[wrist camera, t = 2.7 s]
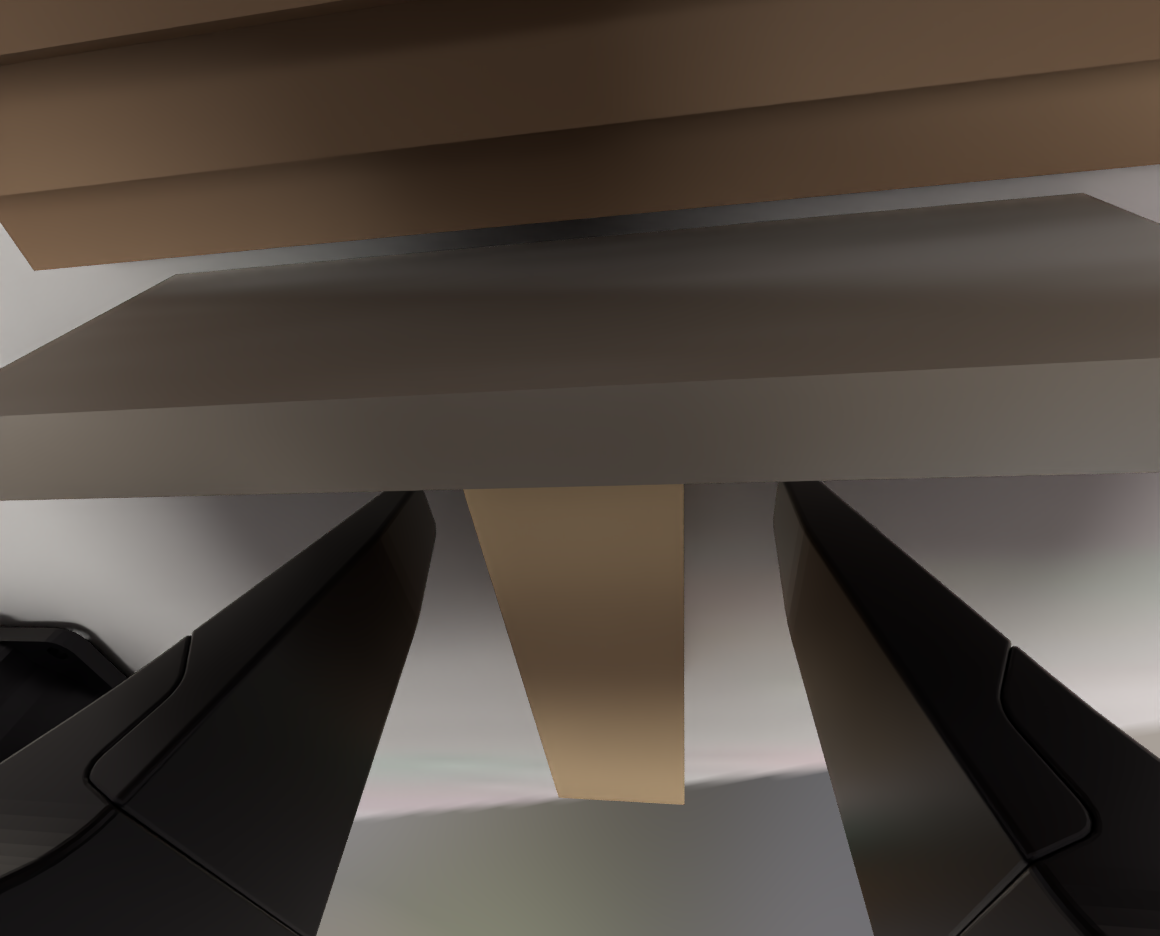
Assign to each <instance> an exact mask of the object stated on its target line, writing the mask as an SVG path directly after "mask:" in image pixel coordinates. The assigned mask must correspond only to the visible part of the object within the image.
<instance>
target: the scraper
mask: <svg viewBox="0 0 1160 936" xmlns="http://www.w3.org/2000/svg"><path fill="white" fill-rule="evenodd" d="M1157 472H1160V224H1159V223H1156V222H1154V221H1151V220H1149V219H1146V218H1144V217H1141V216H1139V215H1137V214H1134V213H1132V212H1129V211H1127V210H1124V209H1122V208H1119V207H1117V206H1114V205H1112V204H1109V203H1107V202H1104V201H1102V200H1099V199H1097V198H1094V197H1092V196H1089V195H1087V194H1084V193H1077V194H1066V195H1055V196H1044V197H1033V198H1022V199H1011V200H999V201H988V202H977V203H966V204H955V205H944V206H933V207H921V208H910V209H899V210H888V211H877V212H866V213H855V214H844V215H832V216H821V217H810V218H799V219H788V220H777V221H766V222H754V223H743V224H732V225H721V226H710V227H699V228H688V229H677V230H665V231H654V232H643V233H632V234H621V235H610V236H599V237H587V238H576V239H565V240H554V241H543V242H532V243H521V244H510V245H498V246H487V247H476V248H465V249H454V250H443V251H432V252H420V253H409V254H398V255H387V256H376V257H365V258H354V259H342V260H331V261H320V262H309V263H298V264H287V265H276V266H265V267H253V268H242V269H231V270H220V271H209V272H198V273H187V274H176V275H174V276H172V277H170V278H168V279H166V280H164V281H163V282H161V283H159V284H157V285H155V286H153V287H151V288H150V289H148V290H146V291H144V292H142V293H140V294H138V295H137V296H135V297H133V298H131V299H129V300H127V301H125V302H124V303H122V304H120V305H118V306H116V307H114V308H112V309H111V310H109V311H107V312H105V313H103V314H101V315H99V316H98V317H96V318H94V319H92V320H90V321H88V322H86V323H85V324H83V325H81V326H79V327H77V328H75V329H73V330H71V331H70V332H68V333H66V334H64V335H62V336H60V337H58V338H57V339H55V340H53V341H51V342H49V343H47V344H45V345H44V346H42V347H40V348H38V349H36V350H34V351H32V352H31V353H29V354H27V355H25V356H23V357H21V358H19V359H18V360H16V361H14V362H12V363H10V364H8V365H6V366H5V367H3V368H1V369H0V501H6V500H47V499H88V498H129V497H170V496H211V495H253V494H294V493H335V492H376V491H417V490H458V489H463V491H464V495H465V498H466V501H467V504H468V507H469V511H470V514H471V517H472V520H473V523H474V527H475V530H476V533H477V536H478V540H479V543H480V546H481V549H482V552H483V556H484V559H485V562H486V565H487V568H488V572H489V575H490V578H491V581H492V584H493V588H494V591H495V594H496V597H497V601H498V604H499V607H500V610H501V613H502V617H503V620H504V623H505V626H506V629H507V633H508V636H509V639H510V642H511V645H512V649H513V652H514V655H515V658H516V662H517V665H518V668H519V671H520V674H521V678H522V681H523V684H524V687H525V690H526V694H527V697H528V700H529V703H530V707H531V710H532V713H533V716H534V719H535V723H536V726H537V729H538V732H539V735H540V739H541V742H542V745H543V748H544V751H545V755H546V758H547V761H548V764H549V768H550V771H551V774H552V777H553V780H554V784H555V787H556V790H557V793H558V796H559V798H575V799H593V800H611V801H628V802H646V803H666V804H681V805H682V804H683V805H684V484H705V483H746V482H787V481H828V480H869V479H911V478H952V477H993V476H1034V475H1075V474H1116V473H1157Z"/></svg>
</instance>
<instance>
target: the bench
mask: <svg viewBox="0 0 1160 936" xmlns="http://www.w3.org/2000/svg"><path fill="white" fill-rule="evenodd" d="M1155 164H1160V0H0V222H1V224H2V225H3V227H4V228H5V230H6V231H7V232H8V234H9V235H10V237H11V238H12V240H13V241H14V243H15V244H16V245H17V247H18V248H19V250H20V251H21V253H22V254H23V255H24V257H25V258H26V260H27V261H28V263H29V264H30V265H31V267H32V268H33V270H34V271H36V270H47V269H57V268H68V267H78V266H89V265H99V264H110V263H120V262H131V261H142V260H152V259H163V258H173V257H184V256H194V255H205V254H215V253H226V252H237V251H247V250H258V249H268V248H279V247H289V246H300V245H311V244H321V243H332V242H342V241H353V240H363V239H374V238H384V237H395V236H406V235H416V234H427V233H437V232H448V231H458V230H469V229H480V228H490V227H501V226H511V225H522V224H532V223H543V222H553V221H564V220H575V219H585V218H596V217H606V216H617V215H627V214H638V213H648V212H659V211H670V210H680V209H691V208H701V207H712V206H722V205H733V204H744V203H754V202H765V201H775V200H786V199H796V198H807V197H817V196H828V195H839V194H849V193H860V192H870V191H881V190H891V189H902V188H913V187H923V186H934V185H944V184H955V183H965V182H976V181H986V180H997V179H1008V178H1018V177H1029V176H1039V175H1050V174H1060V173H1071V172H1081V171H1092V170H1103V169H1113V168H1124V167H1134V166H1145V165H1155Z"/></svg>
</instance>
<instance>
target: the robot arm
mask: <svg viewBox="0 0 1160 936" xmlns="http://www.w3.org/2000/svg"><path fill="white" fill-rule="evenodd" d="M773 527H774V536H775V543H776V550H777V557H778V564H779V570H780V577H781V584H782V591H783V598H784V605H785V611H786V617H787V623H788V627H789V631H790V635H791V640H792V643H793V647H794V650H795V654H796V658H797V661H798V665H799V668H800V672H801V675H802V679H803V683H804V686H805V690H806V693H807V697H808V701H809V704H810V708H811V711H812V715H813V719H814V722H815V726H816V729H817V733H818V736H819V740H820V744H821V747H822V751H823V754H824V758H825V762H826V765H827V769H828V772H829V776H830V780H831V783H832V787H833V790H834V794H835V797H836V801H837V805H838V808H839V812H840V815H841V819H842V822H843V826H844V830H845V833H846V837H847V840H848V844H849V848H850V851H851V855H852V858H853V862H854V866H855V869H856V873H857V876H858V880H859V884H860V887H861V891H862V894H863V898H864V901H865V905H866V909H867V912H868V916H869V919H870V923H871V927H872V930H873V934H874V936H1160V758H1158V757H1157V756H1156V755H1154V754H1153V753H1151V752H1150V751H1149V750H1148V749H1146V748H1145V747H1144V746H1142V745H1141V744H1139V743H1138V742H1137V741H1135V740H1134V739H1133V738H1132V737H1130V736H1129V735H1128V734H1126V733H1125V732H1124V731H1122V730H1121V729H1120V728H1118V727H1117V726H1116V725H1114V724H1113V723H1112V722H1110V721H1109V720H1108V719H1106V718H1105V717H1104V716H1102V715H1101V714H1100V713H1098V712H1097V711H1096V710H1094V709H1093V708H1092V707H1091V706H1090V705H1088V704H1087V703H1086V702H1085V701H1083V700H1082V699H1081V698H1080V697H1078V696H1077V695H1076V694H1075V693H1073V692H1072V691H1071V690H1070V689H1068V688H1067V687H1066V686H1065V685H1063V684H1062V683H1061V682H1060V681H1058V680H1057V679H1056V678H1055V677H1054V676H1052V675H1051V674H1050V673H1049V672H1047V671H1046V670H1045V669H1044V668H1043V667H1041V666H1040V665H1039V664H1038V663H1037V662H1035V661H1034V660H1033V659H1032V658H1031V657H1029V656H1028V655H1027V654H1026V653H1025V652H1023V651H1022V650H1021V649H1020V648H1019V647H1017V646H1013V647H1011V641H1010V640H1009V639H1008V638H1006V637H1005V636H1004V635H1003V634H1002V633H1000V632H999V631H998V630H997V629H996V628H995V627H993V626H992V625H991V624H990V623H989V622H987V621H986V620H985V619H984V618H983V617H981V616H980V615H979V614H978V613H977V612H975V611H974V610H973V609H972V608H971V607H970V606H968V605H967V604H966V603H965V602H964V601H962V600H961V599H960V598H959V597H958V596H956V595H955V594H954V593H953V592H952V591H950V590H949V589H948V588H947V587H946V586H945V585H943V584H942V583H941V582H940V581H939V580H937V579H936V578H935V577H934V576H933V575H931V574H930V573H929V572H928V571H927V570H925V569H924V568H923V567H922V566H921V565H919V564H918V563H917V562H916V561H915V560H914V559H912V558H911V557H910V556H909V555H908V554H906V553H905V552H904V551H903V550H902V549H900V548H899V547H898V546H897V545H896V544H894V543H893V542H892V541H891V540H890V539H889V538H887V537H886V536H885V535H884V534H883V533H881V532H880V531H879V530H878V529H877V528H875V527H874V526H873V525H872V524H871V523H869V522H868V521H867V520H866V519H865V518H864V517H862V516H861V515H860V514H859V513H858V512H856V511H855V510H854V509H853V508H852V507H850V506H849V505H848V504H847V503H846V502H844V501H843V500H842V499H841V498H840V497H839V496H837V495H836V494H835V493H834V492H833V491H831V490H830V489H829V488H828V487H827V486H825V485H824V484H823V483H822V482H821V481H787V482H778V485H777V493H776V500H775V508H774V517H773ZM435 537H436V525H435V521H434V518H433V515H432V512H431V509H430V507H429V504H428V501H427V499H426V496H425V493H424V491H423V490H417V491H384V492H383V493H381V494H380V495H378V496H377V497H376V498H374V499H373V500H372V501H370V502H369V503H368V504H366V505H365V506H363V507H362V508H361V509H359V510H358V511H357V512H355V513H354V514H353V515H351V516H350V517H348V518H347V519H346V520H344V521H343V522H342V523H340V524H339V525H338V526H336V527H335V528H333V529H332V530H331V531H329V532H328V533H327V534H325V535H324V536H323V537H321V538H320V539H318V540H317V541H316V542H314V543H313V544H312V545H310V546H309V547H308V548H306V549H305V550H303V551H302V552H301V553H299V554H298V555H297V556H295V557H294V558H293V559H291V560H290V561H288V562H287V563H286V564H284V565H283V566H282V567H280V568H279V569H278V570H276V571H275V572H273V573H272V574H271V575H269V576H268V577H267V578H265V579H264V580H262V581H261V582H260V583H258V584H257V585H256V586H254V587H253V588H252V589H250V590H249V591H247V592H246V593H245V594H243V595H242V596H241V597H239V598H238V599H237V600H235V601H234V602H232V603H231V604H230V605H228V606H227V607H226V608H224V609H223V610H222V611H220V612H219V613H217V614H216V615H215V616H213V617H212V618H211V619H209V620H208V621H207V622H205V623H204V624H202V625H201V626H200V627H198V628H197V629H196V630H194V631H193V632H192V636H186V637H184V638H183V639H182V640H180V641H179V642H178V643H176V644H175V645H174V646H172V647H171V648H170V649H168V650H167V651H166V652H164V653H163V654H161V655H160V656H159V657H157V658H156V659H154V660H153V661H152V662H150V663H149V664H147V665H146V666H145V667H143V668H142V669H140V670H139V671H138V672H136V673H135V674H133V675H132V676H130V677H129V678H128V679H127V678H126V677H125V676H124V675H123V674H122V673H121V672H120V671H119V670H118V669H117V668H116V667H115V666H114V665H113V664H112V663H111V662H109V661H108V660H107V659H106V658H105V657H104V656H103V655H102V654H101V653H100V652H99V651H98V650H97V649H96V648H95V647H94V646H92V645H91V644H90V643H89V642H88V641H87V640H86V639H85V638H83V637H82V636H80V635H79V634H77V633H75V632H72V631H69V630H66V629H61V628H8V627H0V936H316V934H317V931H318V928H319V925H320V922H321V919H322V916H323V912H324V910H325V907H326V903H327V901H328V897H329V894H330V891H331V888H332V885H333V882H334V879H335V875H336V873H337V870H338V867H339V863H340V861H341V858H342V854H343V851H344V848H345V845H346V842H347V839H348V836H349V833H350V830H351V827H352V824H353V821H354V818H355V815H356V811H357V808H358V805H359V802H360V799H361V796H362V793H363V790H364V787H365V784H366V781H367V778H368V775H369V772H370V768H371V765H372V762H373V759H374V756H375V753H376V750H377V747H378V744H379V741H380V738H381V735H382V732H383V729H384V726H385V722H386V719H387V716H388V713H389V710H390V707H391V704H392V701H393V698H394V695H395V692H396V689H397V686H398V683H399V679H400V676H401V673H402V670H403V667H404V664H405V661H406V658H407V655H408V652H409V649H410V646H411V643H412V640H413V636H414V633H415V630H416V626H417V623H418V619H419V615H420V611H421V606H422V601H423V597H424V592H425V587H426V582H427V577H428V572H429V567H430V562H431V557H432V552H433V547H434V542H435Z"/></svg>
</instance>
